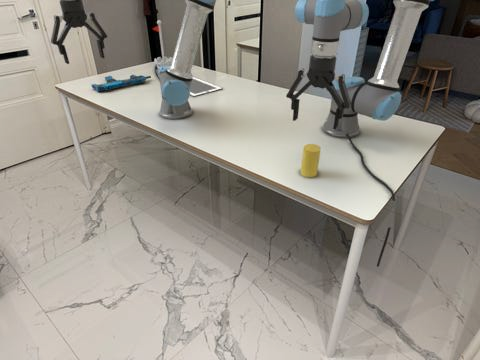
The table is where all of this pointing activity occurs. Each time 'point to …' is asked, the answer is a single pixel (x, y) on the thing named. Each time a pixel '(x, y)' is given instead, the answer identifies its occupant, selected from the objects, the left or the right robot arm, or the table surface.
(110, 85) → the submachine gun
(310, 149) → the cylinder
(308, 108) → the table surface
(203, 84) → the tablet
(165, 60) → the flag stand
